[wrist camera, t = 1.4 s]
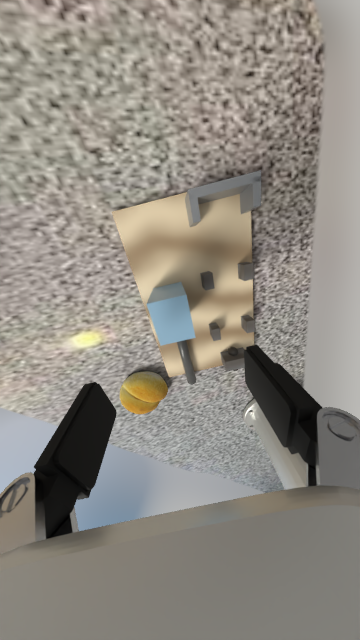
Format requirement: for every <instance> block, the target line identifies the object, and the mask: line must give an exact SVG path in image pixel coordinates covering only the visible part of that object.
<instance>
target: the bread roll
mask: <svg viewBox="0 0 360 640" xmlns="http://www.w3.org/2000/svg"><path fill="white" fill-rule="evenodd" d="M167 392H168V387H167V384H166V382H165V381H164V380H163V378H162V377H161V376H160V375H159V374H157V373H154V372H149V371H145V372H138V373H134V374H132V375H130V376H129V377H128V378H127V379H126V380H125V381H124V383H123V385H122V386H121V389H120V400H121V403H122V405H123V406H124V407H125V408H126V409H127V410H128V411H130V412H132V413H136V414H145V413H148V412H150V411H153V410H154V409H155V408H156V407H157V406H158V404H159V402H160V400H162V399H164V398H165V396H166V395H167Z"/></svg>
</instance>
